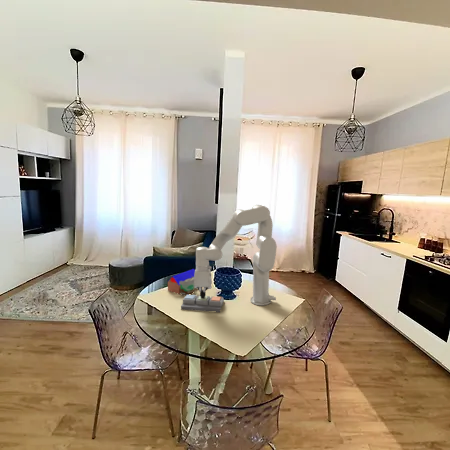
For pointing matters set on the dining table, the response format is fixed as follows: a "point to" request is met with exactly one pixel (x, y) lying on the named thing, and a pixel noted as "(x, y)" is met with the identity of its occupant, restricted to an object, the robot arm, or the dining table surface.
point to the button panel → (202, 304)
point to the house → (175, 280)
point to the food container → (187, 286)
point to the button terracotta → (216, 299)
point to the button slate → (190, 297)
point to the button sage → (202, 298)
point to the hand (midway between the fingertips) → (202, 297)
